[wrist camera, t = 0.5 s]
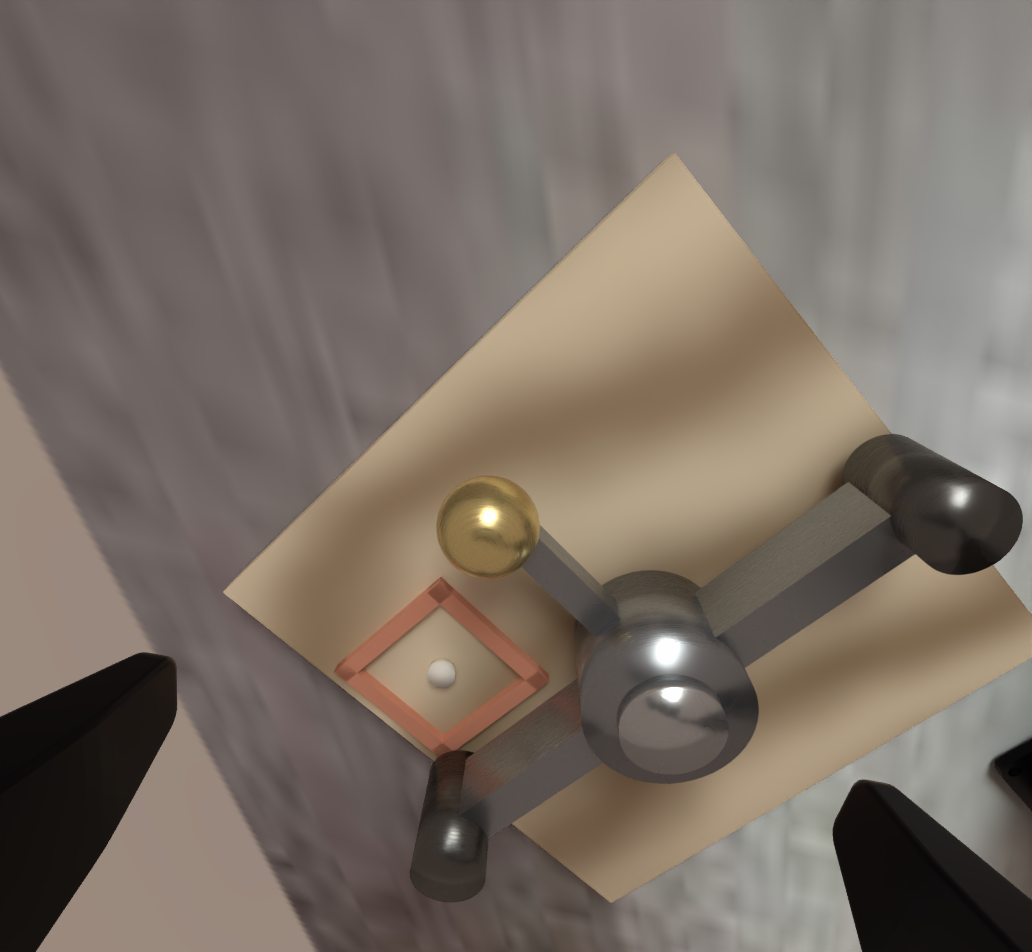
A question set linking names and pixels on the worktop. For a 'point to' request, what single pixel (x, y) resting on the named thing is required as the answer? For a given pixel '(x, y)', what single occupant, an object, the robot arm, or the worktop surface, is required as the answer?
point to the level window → (442, 669)
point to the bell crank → (680, 637)
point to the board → (635, 526)
